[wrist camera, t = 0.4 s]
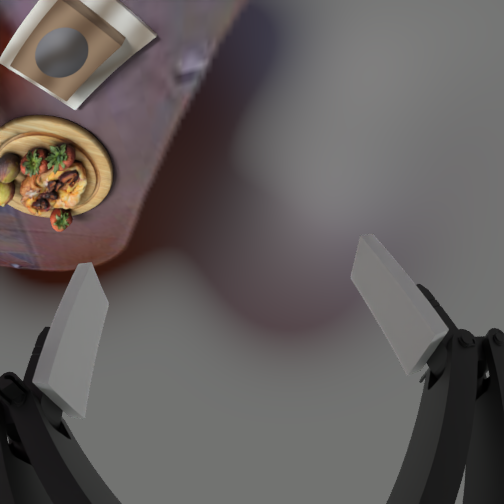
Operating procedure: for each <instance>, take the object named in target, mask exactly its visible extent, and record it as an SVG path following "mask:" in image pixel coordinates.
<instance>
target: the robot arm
mask: <svg viewBox="0 0 504 504" xmlns="http://www.w3.org/2000/svg"><path fill="white" fill-rule="evenodd" d="M350 278H351V280H352V281H353V283H354V284H355V286H356V287H357V289H358V291H359V292H360V294H361V296H362V297H363V299H364V301H365V302H366V304H367V305H368V307H369V309H370V311H371V312H372V314H373V316H374V317H375V319H376V321H377V323H378V324H379V326H380V328H381V329H382V331H383V333H384V335H385V336H386V338H387V340H388V341H389V343H390V345H391V347H392V349H393V351H394V352H395V354H396V356H397V358H398V360H399V361H400V363H401V365H402V367H403V369H404V371H405V373H406V375H407V376H409V375H411V374H413V373H416V372H418V371H421V369H422V368H423V367H424V365H425V364H426V363H427V364H428V366H429V369H428V370H427V371H426V372H425V374H424V375H423V376H422V377H421V379H420V381H419V382H420V383H421V382H422V381H423V380H424V379H425V383H424V389H423V393H422V398H421V403H420V407H419V411H418V415H417V419H416V423H415V426H414V430H413V433H412V437H411V440H410V443H409V447H408V450H407V453H406V456H405V458H404V461H403V464H402V467H401V470H400V472H399V475H398V477H397V480H396V483H395V485H394V487H393V490H392V492H391V494H390V497H389V499H388V501H387V503H386V504H454V503H455V500H456V497H457V494H458V490H459V488H460V484H461V481H462V477H463V473H464V469H465V465H466V471H465V487H464V496H463V504H504V333H503V332H502V331H501V330H499V329H496V328H492V329H491V330H489V331H488V333H487V334H486V336H483V337H474V336H473V334H471V333H470V332H469V331H467V330H464V329H459V330H458V328H457V327H456V326H455V324H454V323H453V322H452V320H451V319H450V318H449V316H448V315H447V313H446V312H445V311H444V310H443V308H442V307H441V306H440V304H439V303H438V302H437V300H435V298H434V297H433V295H432V294H431V293H430V292H429V290H428V289H426V288H425V287H423V286H422V285H421V284H417V285H415V283H414V282H413V281H412V280H411V278H410V277H409V276H408V275H407V273H406V272H405V271H404V270H403V269H402V267H401V266H400V265H399V264H398V262H397V261H396V260H395V259H394V258H393V257H392V255H391V254H390V253H389V252H388V251H387V250H386V248H384V246H383V245H382V244H381V243H380V242H379V240H378V239H377V238H376V237H375V236H374V235H373V234H367V235H360V238H359V243H358V247H357V252H356V256H355V260H354V265H353V269H352V273H351V277H350ZM108 306H109V303H108V301H107V299H106V296H105V294H104V292H103V289H102V287H101V285H100V282H99V280H98V278H97V275H96V272H95V270H94V267H93V265H92V262H91V263H82V264H78V266H77V268H76V270H75V272H74V274H73V276H72V279H71V281H70V283H69V285H68V287H67V289H66V291H65V294H64V296H63V298H62V300H61V303H60V305H59V307H58V310H57V312H56V314H55V317H54V319H53V322H52V324H51V327H45V328H44V329H43V331H42V332H41V333H40V335H39V336H38V339H37V341H36V344H35V348H34V350H33V352H32V356H31V358H30V361H29V364H28V367H27V370H26V373H25V376H24V380H23V381H22V380H21V379H20V378H19V377H18V376H17V375H16V374H14V373H13V372H7V373H4V374H3V375H2V376H1V377H0V504H121V503H120V501H119V500H118V499H117V498H116V497H115V496H114V494H113V493H112V491H111V490H110V489H109V488H108V486H107V485H106V484H105V482H104V481H103V480H102V478H101V477H100V476H99V474H98V473H97V472H96V470H95V469H94V467H93V466H92V465H91V463H90V461H89V460H88V458H87V457H86V455H85V454H84V452H83V451H82V449H81V448H80V446H79V444H78V443H77V441H76V440H75V438H74V436H73V434H72V432H71V431H70V429H69V427H68V425H67V424H66V422H65V420H64V419H63V418H62V412H63V411H64V412H65V413H66V414H67V415H68V416H70V417H75V418H83V419H85V414H86V407H87V401H88V395H89V389H90V383H91V378H92V373H93V368H94V363H95V358H96V354H97V349H98V345H99V341H100V336H101V332H102V328H103V325H104V321H105V317H106V313H107V310H108ZM488 370H489V375H490V376H489V377H488V378H487V377H486V372H487V371H488ZM7 437H8V439H9V444H8V441H7Z"/></svg>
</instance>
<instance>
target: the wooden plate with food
mask: <svg viewBox="0 0 504 504" xmlns="http://www.w3.org/2000/svg"><path fill="white" fill-rule="evenodd" d="M112 182H113V166H112V162H111V159H110V157H109V155H108V153H107V151H106V150H105V148H104V147H103V145H102V144H101V143H100V142H99V141H98V140H97V139H96V138H95V137H94V136H93V135H92V134H91V133H90V132H88V131H87V130H85V129H84V128H82V127H81V126H79V125H77V124H75V123H73V122H71V121H68V120H66V119H63V118H59V117H55V116H47V115H30V116H24V117H20V118H16V119H14V120H11V121H9V122H7V123H6V124H4V125H3V126H1V127H0V206H2V207H3V206H5V205H6V204H9V205H10V206H12V207H14V208H15V209H18V210H20V211H22V212H25V213H28V214H31V215H35V216H41V217H50V221H51V224H52V227H53V228H54V229H55V230H56V231H59V232H61V231H63V230H65V229H66V228H67V227H68V226H69V225H70V224H71V223H72V219H73V218H72V216H74V215H78V214H81V213H84V212H86V211H88V210H90V209H92V208H94V207H95V206H97V205H98V204H99V203H100V202H101V201H102V200H103V199H104V198H105V197H106V196H107V194H108V193H109V191H110V189H111V186H112Z"/></svg>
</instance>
